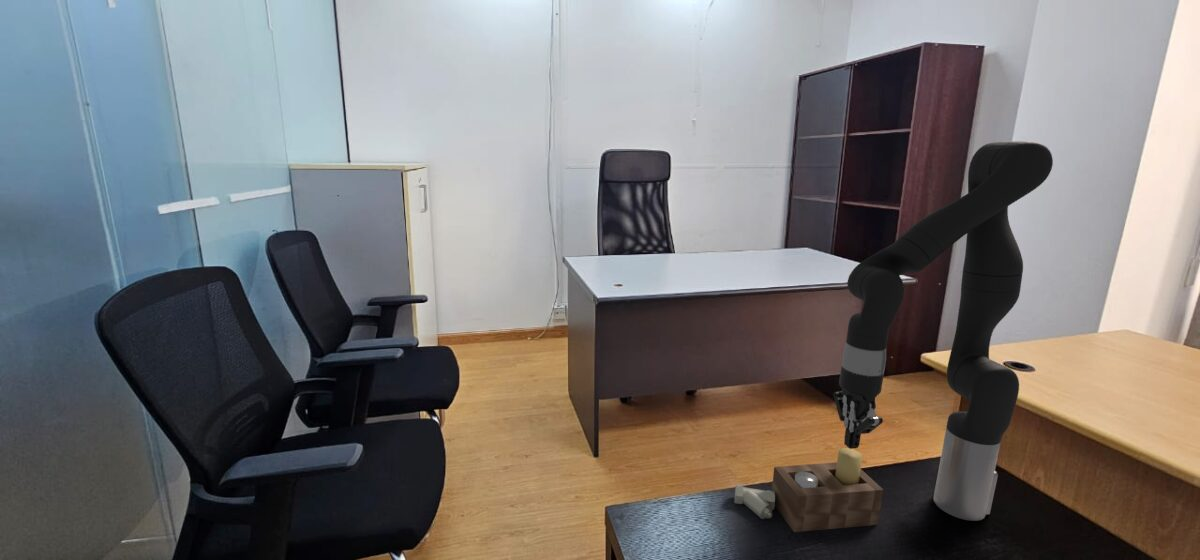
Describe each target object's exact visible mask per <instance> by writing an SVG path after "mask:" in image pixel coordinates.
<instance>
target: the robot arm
mask: <svg viewBox="0 0 1200 560" xmlns="http://www.w3.org/2000/svg"><path fill="white" fill-rule="evenodd" d="M1053 162H1054V159H1053V155H1052V152H1051V150H1050V149H1049V147H1047V146H1046V145H1044V144H1042V143H1040V142H1037V141H1030V140H1029V141H1028V140H1015V141H1012V140H1011V141H995V142H993V141H992V142H989V143H986V144H985V145H982V146H981V147H980V148H978V149H977V150H976V151H975V153H974V154H973V156H972V157H971V160H970V163H969V166H968V171H967V173H968V174H967V194H965V195H964V196H961V197H959V198H958V199H956V200H955V201H953V202H950V203H949V204H947V205H945V206H943V207H940V208H939V209H937V210H935V211H933V212H931V213H929V214H928V215H926V216H924V217H923V218H921V219H920V220H918V221H917V222H916V223H915V224H913V225H912V226H911V227H910V228H909V229H907V230H906V232H904V233H903V234H902V235H901V236H900V237H899V238H898V239H896V240H895V241H894V242H893V243H892V244H891V245H889V246H887V247H884V248H883V249H881V250H879V251H877V252H876V253H874V254H872V255H871V256H869V257H867V258H866V259H864V260H863V261H861V262H860V263H859V264H857V265H856V266H855V267H854V268H853V269H852V271H850V273H849V275H848V278H847V282H846V283H847V284H846V285H847V289H848V291H849V292H850V293H851V294H852V296H854V297H855V298H857V299H859V300H861V301H864V302H863V307H862V309H861V312H857V313H854V314H852V316H851V317H850V318H849V322H848V327H847V334H846V340H845V341H846V342H845V344H844V345H845V346H844V349H843V353H842V359H841V367H840V373H839V382H838V385H839V387H841V391H840V390H839V391H834V392H833V399H834V403H835V406H836V410H837V414H838V417H839V418H838V419H839V420H840V421H841V422H843V425H844V426H843V427H844V428H845V431H844V438H843V439H844V441H843V443H844V445H845V446H846V448H849V449H858V448H859V446H860V442H861V438H862V437H861V435H862V434H864V435H866V434H870V433H872V432H873V431H874V430H875V429H876V428H878V427H879V426H881V425H882V424H883V422H884V420H883V419H884V418H883V417H882V416H877V412H876V408H877V407H876V406H877V404H876V398H877V397H878V396H879V395H880V394H881V393H882V389H883V382H884V377H885V375H884V374H885V368H886V363H887V362H886V361H887V347H888V342H889V340H888V339H889V332H890V328H891V325H892V324H893V322H894V320H895V319H896V317H897V316H896V315H897V313H898V311H899V310H900V307H901V304H902V303H903V299H904V295H905V287H904V286H905V285H904V282H903V279H902V278H901V276H902V275H905V274H916V273H919V272H921V271H923V270H925V268H927V267H928V266H929V265H930V264H932V263H933V262H934V261H935V260H936V259H937V258H939V257H940V256H941V255H942V254H943V253H945V251H947V250H948V249H950V247H952V246H953V245H954V244H955V243H956V242H957V241H959V240H961V238H963V237H964V236H965V235H966V239H965V240H966V242H965V243H966V245H965V255H964V262H963V267H962V275H961V285H960V300H959V305H958V306H959V307H958V315H957V320H956V327H955V334H954V338H953V342H952V347H951V350H950V354H949V359H948V363H947V367H946V381H947V384H948V386H949V387H950V388H951V390H952V391H954V393H957V394H958V395H959V396H960V397H963V398H964V399H966V400H968V401H969V405H968V408H967V411H961V410H960V411H954V412H952V413H950V414H949V415H948V417H947V423H946V426H945V431H944V438H943V444H942V449H941V454H940V460H939V467H938V472H937V477H936V483H935V487H934V493H933V498H932V499H933V502H934V503H935V505H936V506H937V508H939V509H940V510H941V511H943V512H944V513H946V514H948V515H949V516H952V517H955V518H957V519H960V520H963V521H964V520H965V521H972V522H973V521H974V522H975V521H976V522H977V521H982V520H983V519H985V518H986V516H988V515H990V514H991V509H992V504H993V499H994V497H995V496H994V495H995V492H996V491H995V490H996V488H997V487H996V486H997V482H998V477H999V475H998V472H997V471H996V467H997V461H998V457H999V452H1000V447H1001V441H1002V439H1003V435H1004V434H1005V433H1006V431H1008V428H1009V426H1010V425H1011V422H1012V417H1013V415H1014V410H1015V407H1016V403H1017V401H1018V396H1019V393H1020V392H1019V391H1020V382H1019V381H1020V380H1019V376H1018V374H1017V373H1016V371H1014V370H1012V369H1011V368H1009V367H1007V366H1005V365H1003V364H1001V363H998V362H996V361H995V360H993V359H990V346H991V345H990V344H991V339H992V336H993V332H994V330H995V328H996V327H997V326H998V324H999V323H1000V322H1001V321H1002V320H1003V319H1004V318H1005V317H1006V316H1007V315H1008V313H1010V311H1011V310H1012V309H1013V308H1014V306H1015V305H1016V303H1017V302H1018V299H1019V297H1020V294H1021V289H1022V288H1021V287H1022V280H1023V272H1024V261H1023V257H1022V253H1021V250H1020V248H1019V247H1020V246H1019V245H1018V243H1017V240H1016V238H1015V235H1014V234H1013V231H1012V228H1011V226H1010V221H1009V206H1011V205H1012V204H1014V203H1015V202H1017V201H1018V200H1020V199H1022V198H1024V197H1025V196H1026V195H1028V194H1030V193H1032V192H1033V191H1034V190H1036V189H1037V188H1038V187H1040V186H1041V185H1042V184H1043V183H1045V181H1046V180H1047V179H1048V177H1049V175H1050V174H1051V171H1052V169H1053V164H1054V163H1053Z"/></svg>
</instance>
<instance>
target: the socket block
mask: <svg viewBox="0 0 1200 560" xmlns="http://www.w3.org/2000/svg"><path fill="white" fill-rule="evenodd" d="M836 466H837V462H836V461H835V462H823V463H812V464H811V463H810V464H796V465H794V464H793V465H779V466H774V468H773V474H772V475H773V477H772V484H771V491H774V492H775V508H776V509H777V511H778V512H779V513H780V515H781V516H782V517H783V519H784V520H785V522H786V523H787V524H788V526H789V527H790V529H791V530H792V531H793V533H801V532H802V533H803V532H811V531H821V530H822V531H823V530H834V529H846V528H855V527H856V528H857V527H867V526H876V525H877V526H878V525H879V519H880V513H881V506H882V500H883V495H884V494H883V493H884V489H883V488H882V487H881V486H880V485H879V484H878V483H877V482H876V481H875V480H873V479H872V478H871V477H870V476H869V475H868V474H867V473H866V472H865V471H864V470H863V469H860V476H859V483H858V484H852V485H842V484H841V483H840V482H839V481H838V480H837V479H836V478H835V474H836ZM798 472H808V473H811V474H813V475H815V476H816V477H817V478H818V487H813V488H800V487H799V486H798V484H797V483H796V482H795V474H796V473H798Z"/></svg>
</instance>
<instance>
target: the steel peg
mask: <svg viewBox="0 0 1200 560" xmlns="http://www.w3.org/2000/svg"><path fill="white" fill-rule="evenodd" d="M795 482H796V483H797V484H798V486H799V487H800V488H813V487H818V478H817V477H816V476H815V475H813V474H811V473H808V472H798V473H796V474H795Z"/></svg>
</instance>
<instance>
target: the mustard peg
mask: <svg viewBox="0 0 1200 560" xmlns="http://www.w3.org/2000/svg"><path fill="white" fill-rule="evenodd" d="M836 461H837V466H836V474H835V478H836V479H837V480H838V481H839V482H840V483H841V484H842V485H852V484H858V483H859V476H860V469H861V468H862V462H863V454H862V453H861V452H860V451H858V450H856V449H855V448H853V449H849V448H848V447H842V448H839V449H838V452H837V460H836ZM861 470H862V469H861Z"/></svg>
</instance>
